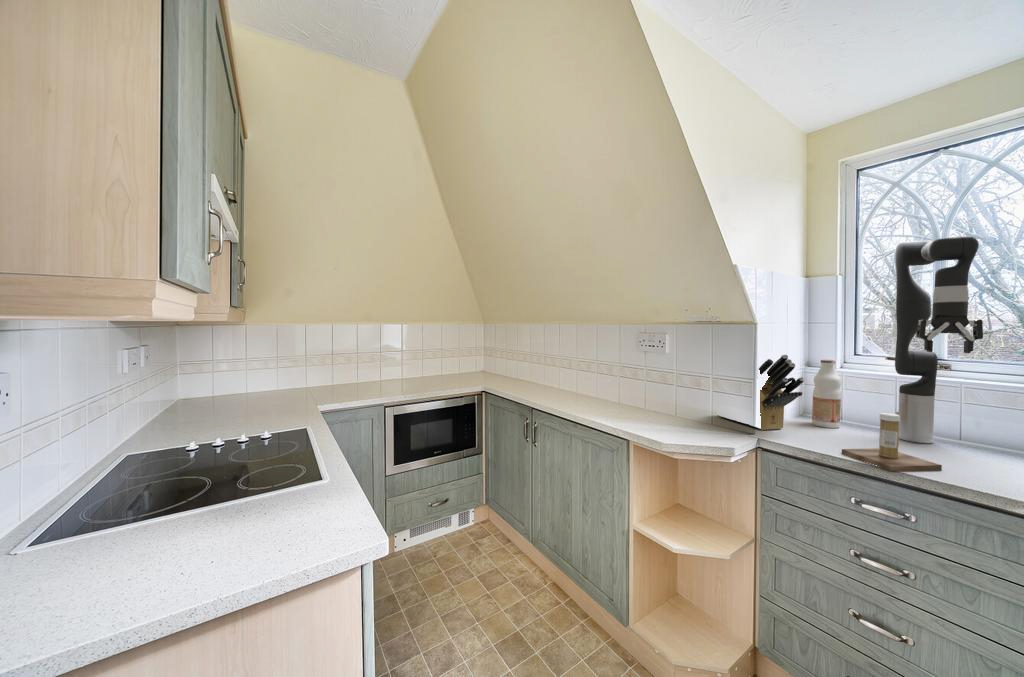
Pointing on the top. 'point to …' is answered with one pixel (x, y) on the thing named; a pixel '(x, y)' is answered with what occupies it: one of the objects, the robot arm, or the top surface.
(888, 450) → the sprinkles bottle
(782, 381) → the knife block
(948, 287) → the robot arm
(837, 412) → the fruit juice
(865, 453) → the walnut board
